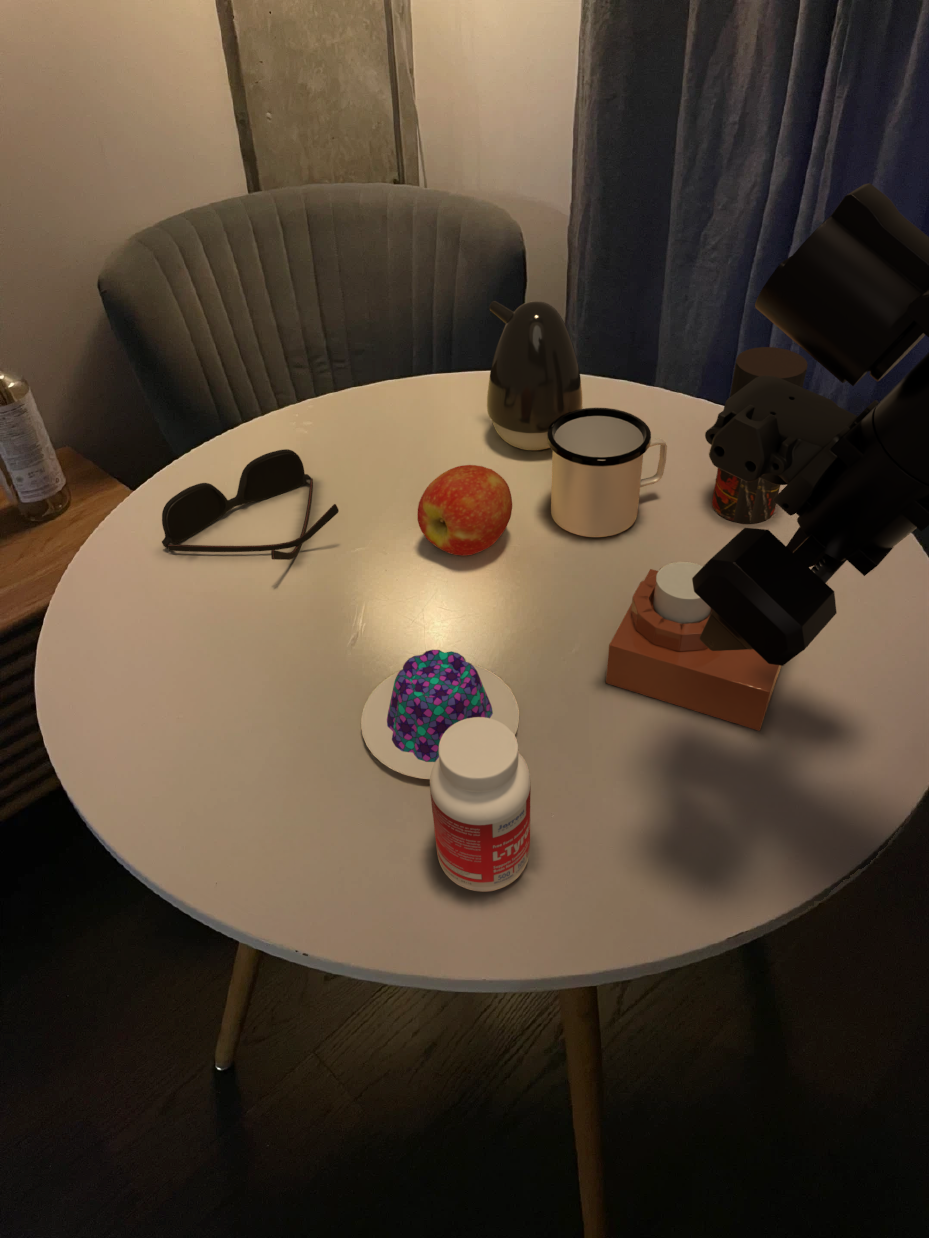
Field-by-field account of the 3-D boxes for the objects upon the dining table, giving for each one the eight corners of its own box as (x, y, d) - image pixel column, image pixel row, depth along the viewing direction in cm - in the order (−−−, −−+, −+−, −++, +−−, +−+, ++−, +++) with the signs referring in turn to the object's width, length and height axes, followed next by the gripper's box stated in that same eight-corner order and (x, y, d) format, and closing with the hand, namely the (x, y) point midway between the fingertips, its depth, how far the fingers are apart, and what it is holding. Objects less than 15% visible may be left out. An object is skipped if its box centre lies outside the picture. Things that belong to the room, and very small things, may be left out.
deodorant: (781, 522, 84) (815, 377, 74) (718, 524, 85) (744, 379, 75) (767, 487, 89) (797, 346, 79) (706, 489, 89) (729, 348, 79)
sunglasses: (234, 615, 78) (221, 571, 75) (158, 544, 86) (143, 501, 83) (384, 534, 86) (379, 491, 83) (302, 476, 94) (294, 435, 91)
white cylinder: (718, 595, 69) (722, 570, 67) (702, 631, 66) (707, 605, 64) (662, 581, 70) (666, 555, 69) (645, 615, 67) (648, 589, 66)
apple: (408, 548, 84) (400, 477, 79) (467, 508, 88) (463, 438, 83) (471, 582, 80) (467, 509, 75) (529, 538, 84) (529, 466, 79)
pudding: (483, 806, 62) (481, 758, 58) (333, 757, 66) (322, 710, 62) (541, 688, 70) (542, 640, 66) (404, 651, 74) (398, 604, 70)
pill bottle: (503, 910, 56) (499, 805, 48) (420, 870, 58) (405, 764, 51) (545, 836, 60) (548, 728, 52) (466, 801, 62) (458, 693, 55)
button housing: (788, 645, 72) (803, 589, 68) (759, 731, 66) (774, 674, 62) (645, 606, 76) (652, 551, 72) (605, 683, 70) (610, 627, 66)
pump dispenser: (517, 406, 103) (516, 276, 93) (597, 429, 99) (605, 294, 88) (468, 446, 97) (461, 311, 87) (550, 472, 93) (554, 333, 82)
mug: (570, 552, 82) (574, 469, 76) (530, 499, 89) (530, 419, 83) (684, 522, 85) (696, 439, 79) (636, 473, 92) (644, 393, 86)
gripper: (879, 271, 48) (728, 453, 61) (695, 407, 39) (562, 588, 52) (1042, 408, 46) (850, 565, 59) (891, 586, 37) (701, 728, 50)
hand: (746, 603), depth 55 cm, fingers open, 9 cm apart
